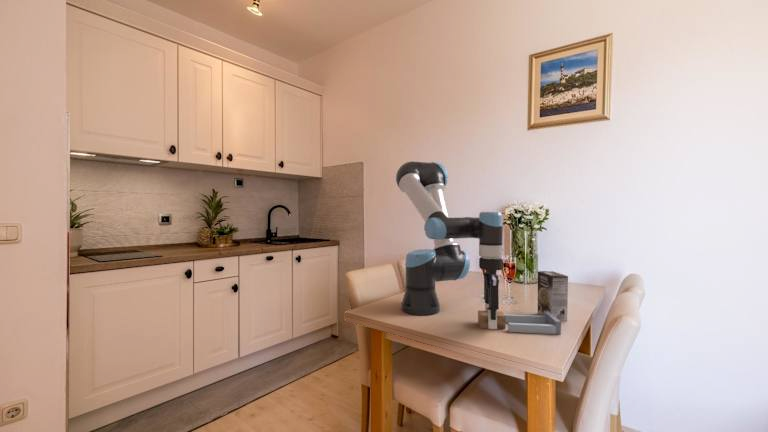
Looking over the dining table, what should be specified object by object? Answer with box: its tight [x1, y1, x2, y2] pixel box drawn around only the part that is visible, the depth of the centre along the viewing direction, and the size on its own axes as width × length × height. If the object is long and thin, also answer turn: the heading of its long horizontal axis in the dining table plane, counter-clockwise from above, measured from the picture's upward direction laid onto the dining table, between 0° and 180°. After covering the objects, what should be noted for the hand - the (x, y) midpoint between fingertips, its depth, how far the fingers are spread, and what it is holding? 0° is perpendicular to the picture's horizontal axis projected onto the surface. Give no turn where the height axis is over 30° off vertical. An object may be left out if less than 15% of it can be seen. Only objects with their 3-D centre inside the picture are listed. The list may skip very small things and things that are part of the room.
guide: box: [503, 311, 562, 335], centre depth 108 cm, size 16×10×4 cm
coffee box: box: [537, 270, 569, 322], centre depth 118 cm, size 9×6×16 cm
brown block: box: [477, 310, 506, 330], centre depth 109 cm, size 8×5×4 cm, turn 82°
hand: (490, 325), depth 109 cm, fingers open, 5 cm apart
